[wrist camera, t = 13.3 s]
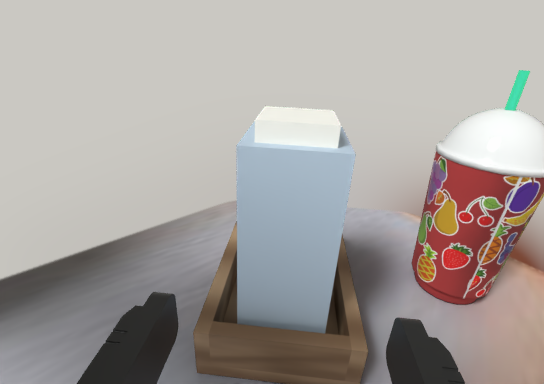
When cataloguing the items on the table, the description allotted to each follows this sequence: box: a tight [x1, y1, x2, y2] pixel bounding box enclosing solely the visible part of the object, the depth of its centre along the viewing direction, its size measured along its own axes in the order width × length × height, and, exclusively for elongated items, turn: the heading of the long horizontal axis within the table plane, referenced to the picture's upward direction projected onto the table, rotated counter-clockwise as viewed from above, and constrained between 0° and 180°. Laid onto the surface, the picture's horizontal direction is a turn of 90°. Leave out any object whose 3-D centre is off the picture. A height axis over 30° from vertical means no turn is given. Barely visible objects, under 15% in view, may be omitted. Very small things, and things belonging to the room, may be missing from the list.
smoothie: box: [412, 70, 544, 304], centre depth 26 cm, size 8×8×20 cm
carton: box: [237, 106, 356, 333], centre depth 21 cm, size 6×6×16 cm
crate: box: [193, 221, 368, 384], centre depth 27 cm, size 16×11×4 cm
